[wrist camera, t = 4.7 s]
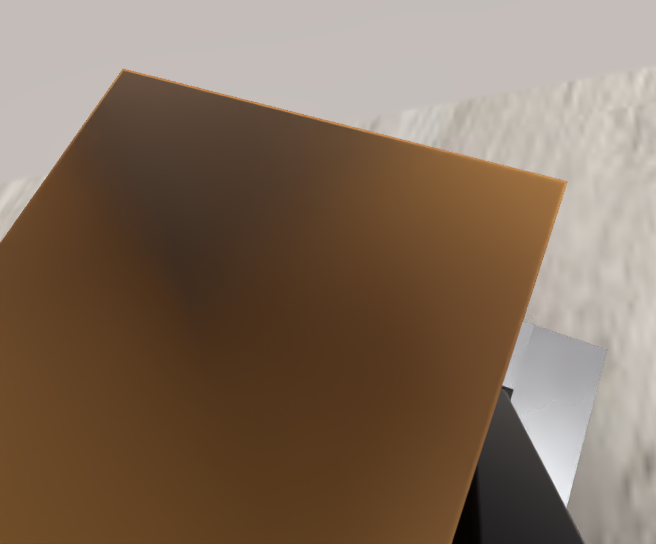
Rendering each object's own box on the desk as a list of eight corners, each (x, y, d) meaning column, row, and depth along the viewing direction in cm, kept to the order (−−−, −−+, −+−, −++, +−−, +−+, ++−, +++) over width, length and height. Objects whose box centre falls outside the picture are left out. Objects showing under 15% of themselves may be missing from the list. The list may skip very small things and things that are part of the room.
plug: (406, 585, 13) (350, 856, 3) (264, 513, 15) (-178, 494, 4) (459, 429, 15) (568, 181, 4) (324, 374, 16) (123, 69, 5)
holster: (470, 750, 12) (485, 818, 9) (146, 563, 15) (83, 573, 12) (573, 380, 15) (607, 349, 12) (286, 278, 17) (261, 233, 15)
